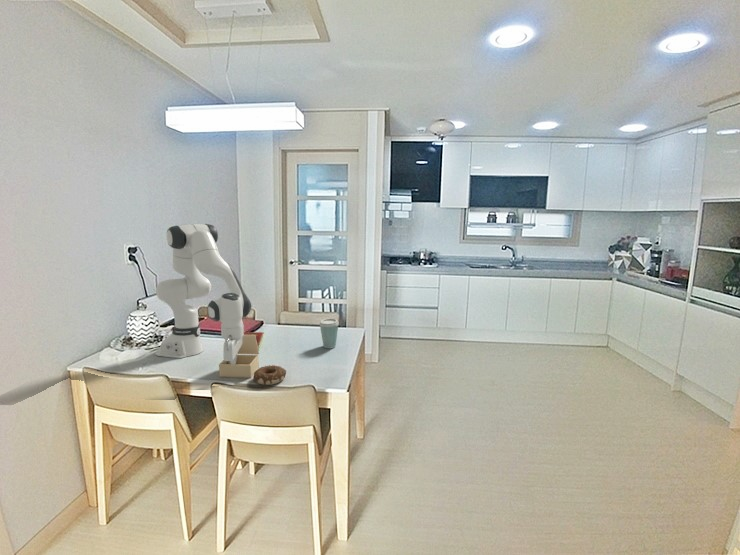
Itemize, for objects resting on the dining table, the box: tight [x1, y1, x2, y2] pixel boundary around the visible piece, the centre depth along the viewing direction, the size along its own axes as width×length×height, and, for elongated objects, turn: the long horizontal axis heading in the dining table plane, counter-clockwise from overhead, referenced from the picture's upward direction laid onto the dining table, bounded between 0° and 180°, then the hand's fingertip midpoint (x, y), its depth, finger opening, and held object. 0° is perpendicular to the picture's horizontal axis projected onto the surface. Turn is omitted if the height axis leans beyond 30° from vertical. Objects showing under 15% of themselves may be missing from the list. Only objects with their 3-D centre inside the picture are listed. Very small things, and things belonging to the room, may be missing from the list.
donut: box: [252, 364, 287, 386], centre depth 172 cm, size 14×14×5 cm
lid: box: [237, 335, 260, 355], centre depth 181 cm, size 14×12×1 cm
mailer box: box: [218, 354, 260, 379], centre depth 179 cm, size 14×12×11 cm
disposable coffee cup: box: [319, 317, 340, 349], centre depth 214 cm, size 11×11×15 cm
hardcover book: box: [244, 331, 265, 351], centre depth 216 cm, size 12×21×4 cm, turn 9°
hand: (234, 363), depth 166 cm, fingers closed
